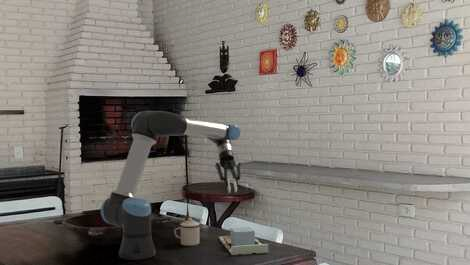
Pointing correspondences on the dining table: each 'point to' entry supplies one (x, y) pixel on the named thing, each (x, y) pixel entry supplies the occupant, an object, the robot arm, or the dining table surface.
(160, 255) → the dining table surface
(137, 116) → the robot arm
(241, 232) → the slate block
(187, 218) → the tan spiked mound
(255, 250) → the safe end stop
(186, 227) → the teacup with lid
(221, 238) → the tray
